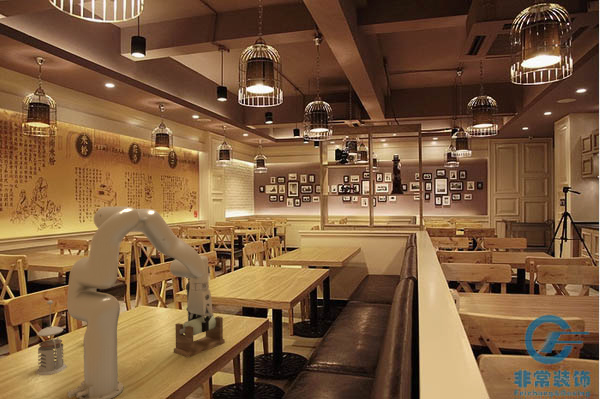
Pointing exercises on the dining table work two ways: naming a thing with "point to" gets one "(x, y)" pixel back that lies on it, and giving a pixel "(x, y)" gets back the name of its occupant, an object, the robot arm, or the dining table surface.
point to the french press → (50, 351)
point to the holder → (191, 347)
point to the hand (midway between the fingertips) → (199, 329)
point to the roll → (198, 325)
